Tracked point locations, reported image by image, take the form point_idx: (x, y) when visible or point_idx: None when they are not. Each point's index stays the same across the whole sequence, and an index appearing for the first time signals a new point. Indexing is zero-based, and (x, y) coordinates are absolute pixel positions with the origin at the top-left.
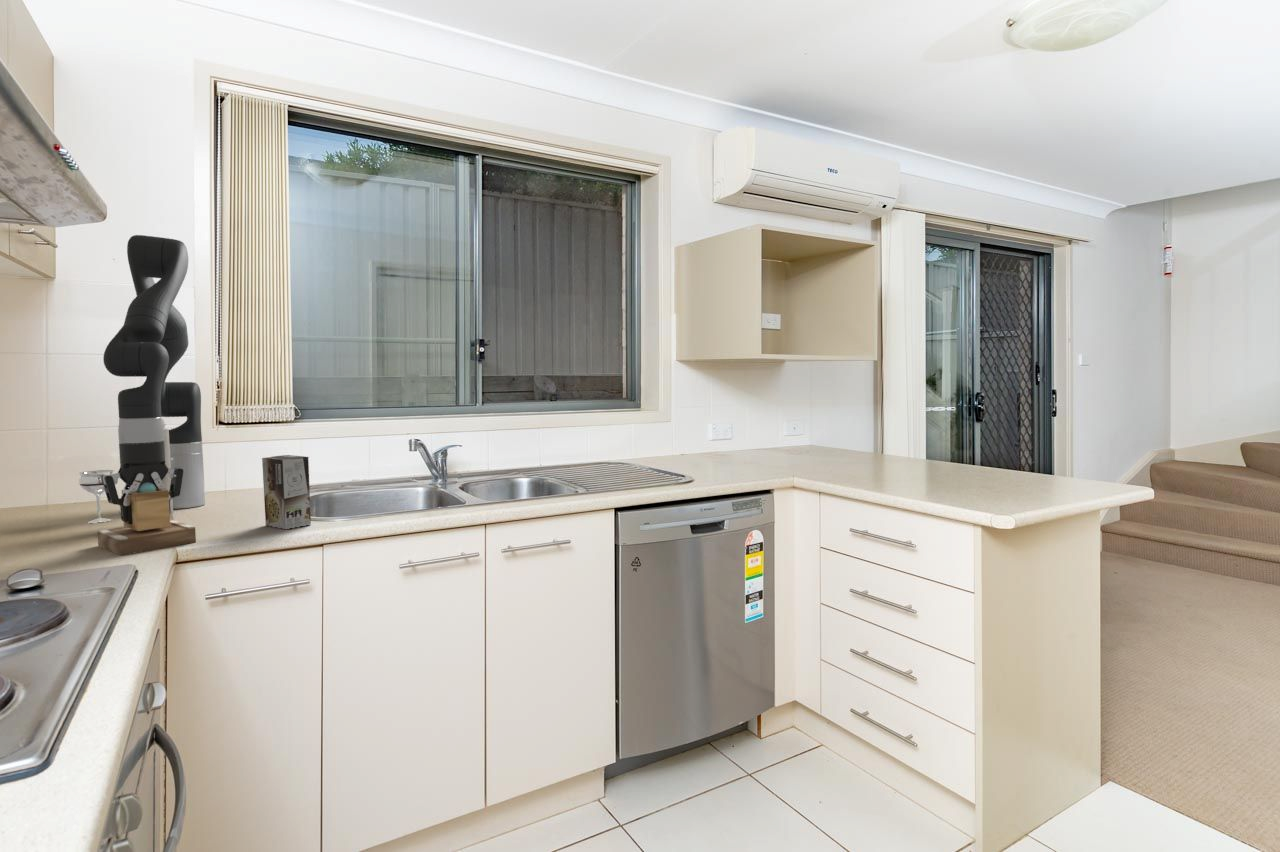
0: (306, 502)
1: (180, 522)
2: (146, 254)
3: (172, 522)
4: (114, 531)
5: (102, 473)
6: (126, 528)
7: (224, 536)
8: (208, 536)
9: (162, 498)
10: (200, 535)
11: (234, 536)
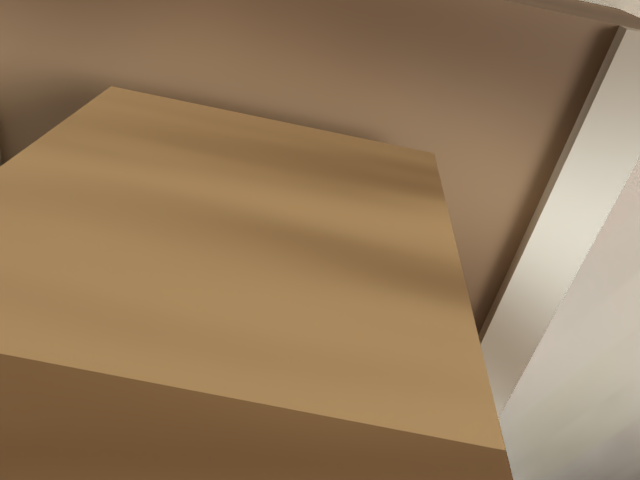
0: None
1: (547, 320)
2: None
3: (526, 257)
4: (34, 79)
5: None
6: (169, 30)
7: (616, 433)
8: (596, 360)
9: None
10: (616, 292)
11: (627, 473)
